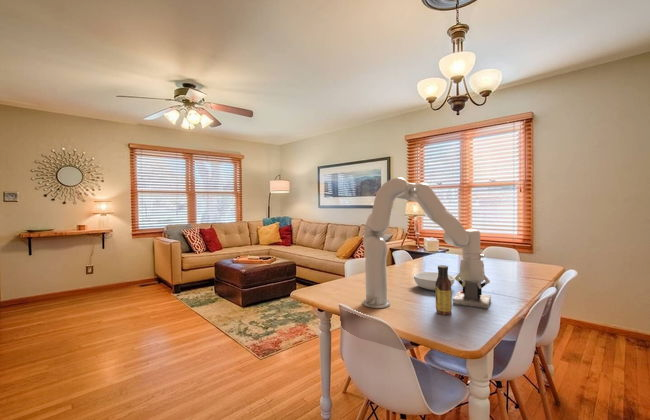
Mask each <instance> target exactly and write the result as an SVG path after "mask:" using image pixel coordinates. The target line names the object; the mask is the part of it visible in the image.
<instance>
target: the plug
mask: <svg viewBox="0 0 650 420" xmlns="http://www.w3.org/2000/svg"><path fill="white" fill-rule="evenodd" d="M465 298H467V299H475V300H478V298H479V297H478V284H477V282H471V281H466V283H465Z"/></svg>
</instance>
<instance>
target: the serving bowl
mask: <svg viewBox="0 0 650 420" xmlns="http://www.w3.org/2000/svg"><path fill="white" fill-rule="evenodd" d="M437 278H438V272H435V271H434V272H433V271H425V272H424V271H423V272H417V273H414V275H413V280H414V282H415V284H416V285H417V286H419V287H420V288H423V289H425V290H428V291H435V284H436V281H437ZM448 278H449V280H450V282H451V287H452V286H453V285H454V283H455V281H456V280H455V277H454V276H453V275H451V274H448Z"/></svg>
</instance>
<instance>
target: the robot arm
mask: <svg viewBox="0 0 650 420" xmlns="http://www.w3.org/2000/svg"><path fill="white" fill-rule="evenodd" d="M396 199H401V200H406V201H410V202H411V201H412V202H416V203H418V204H419V206H420V207H421V209H422V210H423V212H424V213H425V215H426V216H427V218H428V219H430V220H431V221H432V222H433V223H434V224H437V225H438V226H439V227H440V228H441V229H442V230H443V231H444V233H443V236H442V237H443V241H444V243H446V244H448V245H449V246H451V247H455V248H462V257H461V259H460V262H459V263H460V264H459V273H458V274H457V275H456V276H455V277H454V278H455V280H454V281H457V282H458V284H460V285H461V287H462V291H463V293H464V296H465V283H466V281H471V282H477V284H478V297H480V295H482V294H483V293H482V289H483V288H484V287H485V286H487V285H488V284H490V283H491V280H489V278H488V277H487V276H486V274H485V266H484V260H483V259H484V258H485V254H482V253H481V252H482V251H481V232H480V230H478V229H465V228H464V226H463V225H462V223H461V222H460V221H459V220H458V219H457V218H456V216H455V215H453V214H452V213H451V212H450V211H449V210H448V209H447V208H446V207H445V205H444V204H443V203H442V202H441V200H440V198H439V197H438V196H437V195H436V193H435V191H434V190H433V189H432V187H431V186H430V185H429V184H428V183H426V182H420V183H419V182H418V183H412V182H408V181H407V180H406V179H405V178H403V177H399V176H398V177H394V178H390V179H389V180H387V181H386V182H384V183H383V184H382V185H381V186H380V187H379V189H378V190H377V192H376V195H375V198H374V201H373V205H372V210H371V214H369V216H368V217H367V219H366V222H365V228H364V234H363V240H362V245H363V249H364V250H365V267H364V268H365V299H363V300H362V305H363V306H364V307H367V308H372V309H384V308H388V307H390V306H391V301H390V299H388V296H387V295H388V293H387V292H388V288H387V285H388V283H387V257H388V256H387V255H388V245H387V242H386V241H385V239H384V236H385V232H387V230H388V229H389V227H390V221H391V216H392V215H391V214H392V209H393V205H394V202H395V200H396Z"/></svg>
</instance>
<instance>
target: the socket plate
mask: <svg viewBox="0 0 650 420" xmlns="http://www.w3.org/2000/svg"><path fill="white" fill-rule="evenodd" d="M491 298H492V296H491V295H489V294H483V293H482V295H480V297H479V298H478V300H475V299H467V298H465V296H464V293H463V290H460V291H457V293H456V294H455V295H454V296H453V298H452V305H456V306H461V307H468V308H476V309H482V310H489V307H490V305H491V300H492V299H491Z"/></svg>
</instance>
